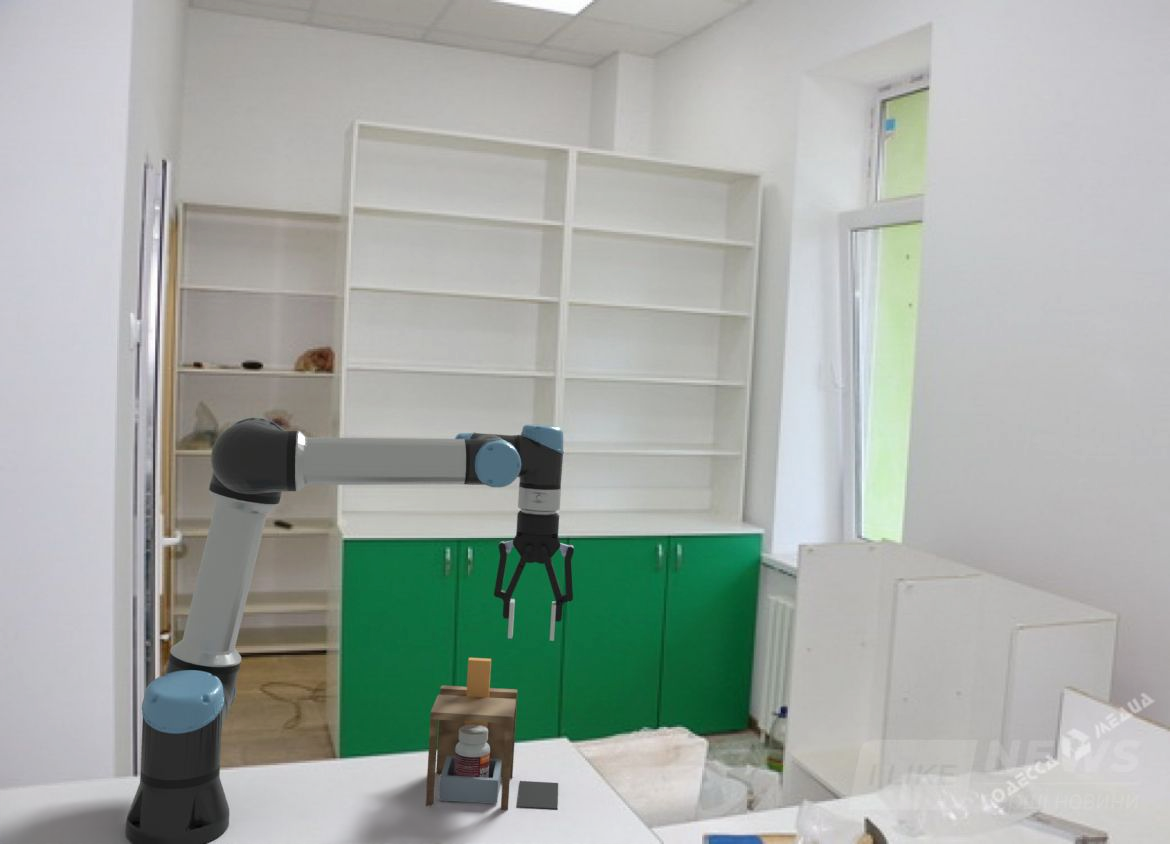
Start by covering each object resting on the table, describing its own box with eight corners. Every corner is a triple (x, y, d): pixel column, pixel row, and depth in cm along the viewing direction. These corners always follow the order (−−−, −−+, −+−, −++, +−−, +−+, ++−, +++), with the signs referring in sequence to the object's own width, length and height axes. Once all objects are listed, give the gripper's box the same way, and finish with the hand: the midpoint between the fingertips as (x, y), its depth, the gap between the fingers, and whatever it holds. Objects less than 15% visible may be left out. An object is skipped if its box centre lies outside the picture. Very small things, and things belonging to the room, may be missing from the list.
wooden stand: (425, 805, 176) (430, 712, 175) (436, 771, 191) (441, 685, 190) (507, 810, 176) (513, 716, 175) (512, 775, 191) (517, 689, 190)
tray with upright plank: (438, 800, 178) (445, 673, 177) (445, 776, 188) (452, 656, 187) (496, 803, 178) (504, 676, 177) (500, 779, 188) (507, 659, 187)
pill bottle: (485, 800, 179) (488, 736, 179) (450, 798, 180) (453, 734, 179) (490, 786, 186) (493, 724, 185) (456, 784, 186) (459, 722, 185)
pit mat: (516, 807, 177) (516, 806, 177) (519, 781, 188) (520, 780, 188) (557, 809, 178) (557, 808, 178) (558, 783, 189) (558, 782, 189)
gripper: (481, 510, 181) (474, 639, 182) (594, 517, 181) (586, 646, 183) (485, 505, 189) (478, 629, 190) (593, 511, 189) (585, 635, 190)
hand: (531, 637), depth 186 cm, fingers open, 7 cm apart
